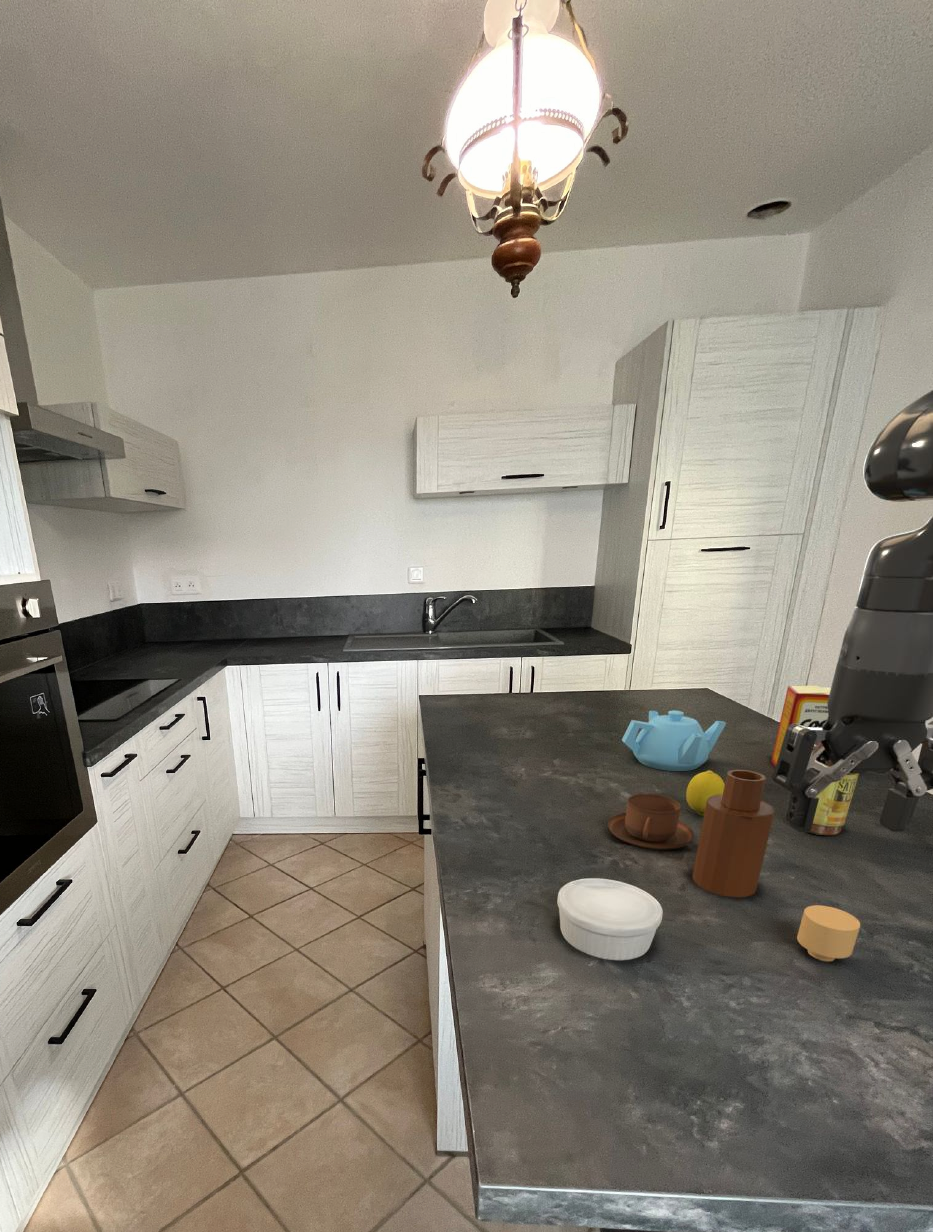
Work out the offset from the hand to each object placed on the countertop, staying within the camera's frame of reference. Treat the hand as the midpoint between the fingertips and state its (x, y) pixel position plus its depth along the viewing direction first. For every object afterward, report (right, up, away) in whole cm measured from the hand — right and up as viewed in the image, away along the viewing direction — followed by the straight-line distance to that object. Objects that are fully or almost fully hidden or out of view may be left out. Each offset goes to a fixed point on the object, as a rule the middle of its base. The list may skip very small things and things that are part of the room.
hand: (845, 828), depth 60 cm
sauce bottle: (+26, -3, +38) cm, 46 cm away
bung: (+3, -15, +8) cm, 17 cm away
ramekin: (-18, -14, +13) cm, 26 cm away
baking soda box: (+42, +7, +63) cm, 76 cm away
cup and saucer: (-1, -4, +36) cm, 37 cm away
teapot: (+19, +9, +69) cm, 72 cm away
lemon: (+11, -1, +44) cm, 45 cm away
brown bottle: (+2, -9, +22) cm, 24 cm away
